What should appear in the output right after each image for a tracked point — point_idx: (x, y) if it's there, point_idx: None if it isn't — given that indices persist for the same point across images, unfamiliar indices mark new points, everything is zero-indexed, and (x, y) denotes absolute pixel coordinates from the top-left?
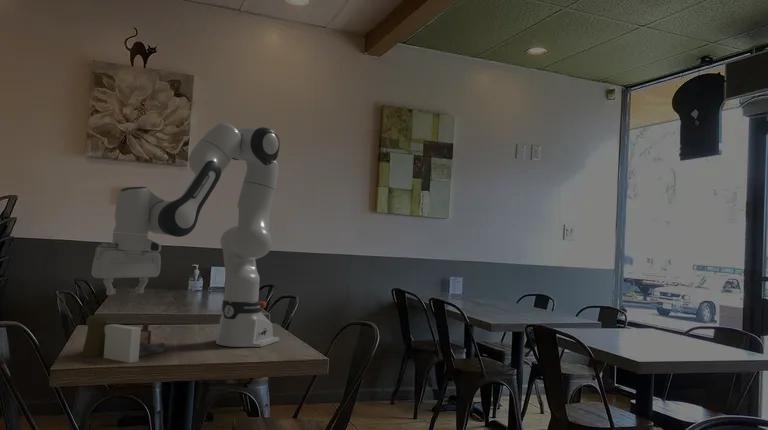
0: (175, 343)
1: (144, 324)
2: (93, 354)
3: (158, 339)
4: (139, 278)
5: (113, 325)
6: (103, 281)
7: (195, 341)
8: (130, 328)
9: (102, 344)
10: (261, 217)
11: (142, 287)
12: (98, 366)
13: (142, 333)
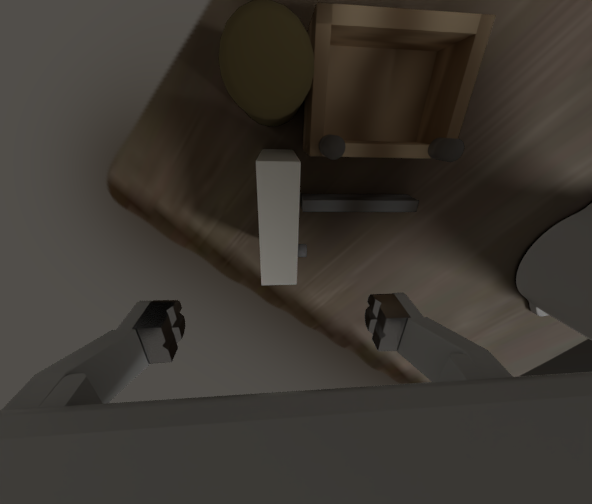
0: (533, 135)
1: (451, 146)
2: (249, 115)
3: None
4: (458, 375)
5: (268, 190)
6: (32, 379)
7: (581, 156)
8: (265, 275)
9: (275, 120)
10: None
11: (398, 349)
12: (194, 224)
13: (413, 157)
